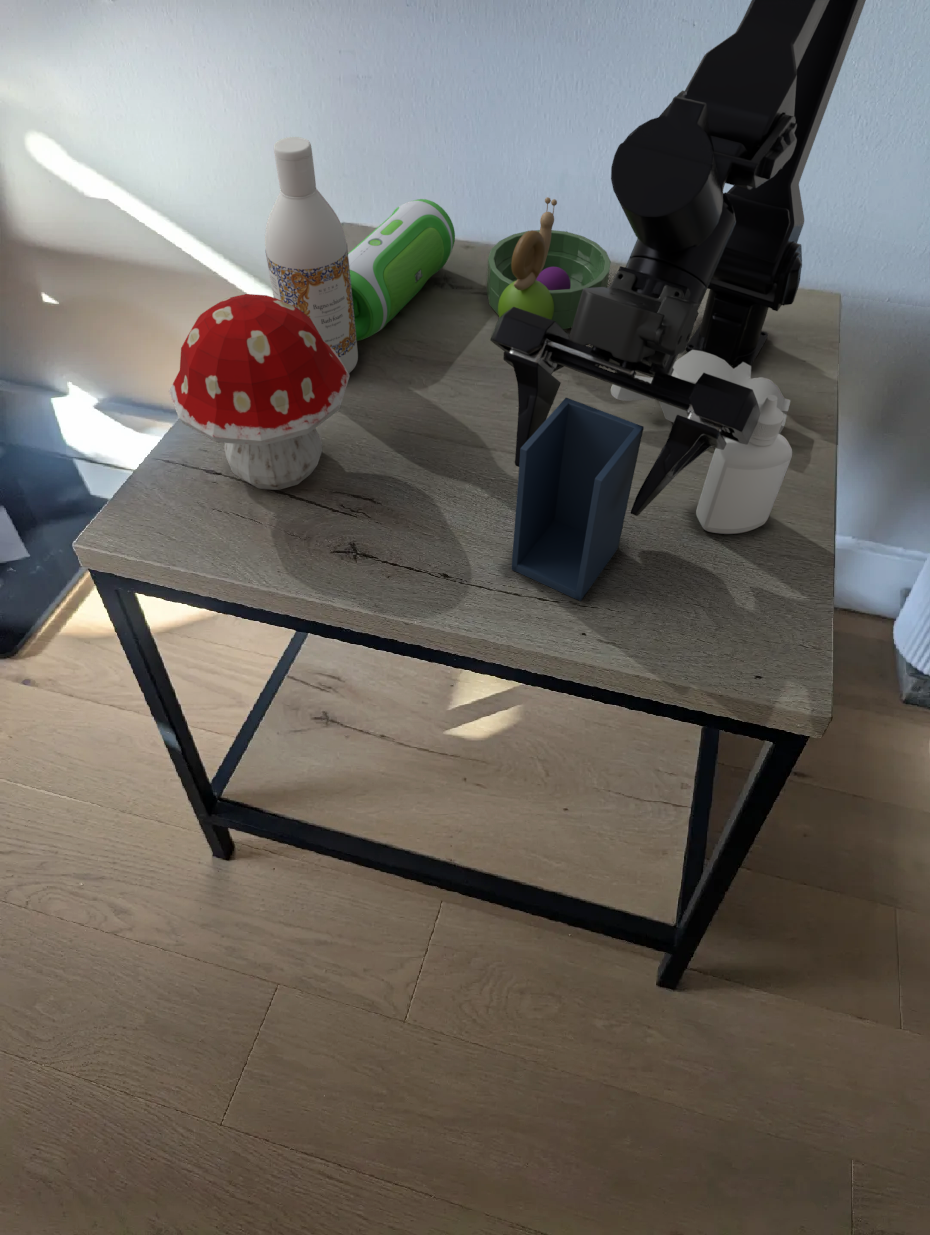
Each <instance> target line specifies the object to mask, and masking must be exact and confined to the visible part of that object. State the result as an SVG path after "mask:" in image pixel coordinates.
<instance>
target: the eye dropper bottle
mask: <svg viewBox="0 0 930 1235" xmlns="http://www.w3.org/2000/svg"><path fill="white" fill-rule="evenodd" d="M758 406H759V409H760V413H761V414H760V417H759V420H758V423H757V425H756V427H755V429H754V431H753V433H752V436H751V438H750V440H749V442H748V444H747V445H746V444H741V443H738V442H735V441H733V440H730V439H727V438H726V439H725V441H726V443H727V444H726V446H725V448H724V450H721V449H717V448H715V449H714V452H713V455H712V458H711V460H710V464H709V467H708V470H707V474H706V477H705V480H704V483H703V486H702V491H701V492H700V497H699V500H698V502H697V507H696V510H695V515H696V519H697V520H698V522H699V524H700V526H701V527H702V529H703V530H705V531H706V532H708V533H715V534H724V535H733V534H742V533H747V532H751V531H753V530H756V529H758V528H759V527H762V526H763V525H765V524H766V523H767V521H768V520H769V518H770V515H771V512H772V510H773V507H774V505H775V502H776V500H777V497H778V495H779V492H780V489H781V487H782V484H783V482H784V479H785V476H786V474H787V471H788V469H789V466H790V463H791V460H792V456H793V449H792V447H791V445H790V443H789V441H788V440H787V438H786V437H785V436H784V435H782V433H780V434H778V433H779V430H780V428H781V425H782V422H783V419H784V415H783V413H782V411H781V410H780V409H778V408H777V397H776V396H775V395H768V397H767V398H766V400H765V402H764V403H763V404H758Z"/></svg>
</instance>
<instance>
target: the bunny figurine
mask: <svg viewBox="0 0 930 1235" xmlns="http://www.w3.org/2000/svg"><path fill="white" fill-rule="evenodd" d="M673 369H674V371H673V373H672V375H671V376H674V377H677V378H679V379H682V380H685V381H688V382H691V383H694V384H696V382H697V381H698V379H699V378H700V377H701V375H702V374H703V373H706V374H709V375H712V376H715V377H718V378H721V379H724V380H727V381H729V382H732V383H735V384H738V385H741V386H744V387H747V388H750V389H753V392H754V394H755V397H756V399H757V402H758V404H763V403H764V402H765V400H766V398H767V397H768V395H775V396H776V397H777V408H778V409H780V410H781V411H782V413H783V415H784V419H783V422H782V425H781V428H780V430H779V433H778V434H782V431H783V430H784V428H785V424H786V421H787V418H788V415H787V414H788V412H789V409H790V405H791V399H788V398H785V397H784V395H783V394H782V391H781V390H780V388H779V386H778V385H777V384H776V383H775V382H773V380H772V379H769V378H766V377H762V376H759V377H751V376H752V366H750V365H748V364H746V363H744V362H743V363H741V364H740V365H739V366H737V367H734V368H733V366H732V365H729V364H728V363H727V362H726V361H725V360H723V359H721V358H719V357H717V356H715V355H712V354H709V353H706V352H703V351H697V350H691V351H690V352H687V353H686V354H683V356H681V357H679V358H677V359H676V361H675V364H674V366H673ZM635 378H638V379H640V380H641V379H642V380H644V381H645V382H646V381H647V382H649V383H651V382H652V380H653V377H650V376H641V375H636V376H635ZM610 394H611V396H612V397H613V398H615V399H616V400H618V401H619V400H620V401H624V402H626V401H627V402H628V401H648V400H649V401H650V400H653V399H652V398H649V397H647V396H644V395H641V394H638V393H636V392H633V391H630V390H627V389H625V388H622V387H619V386H616V385H614V384H611V388H610ZM658 403H659V405H660V408H661V411H662V413H663V415H664V418H665V420H667V421H669V422H672V424H674V421H675V418H676V416H677V415H680V416H683V417H685V418H687V417H688V414H687V411H685V410H682V409H680V408H677V407H674V406H671V405H669V404H666V403H663V402H660V401H658Z"/></svg>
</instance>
